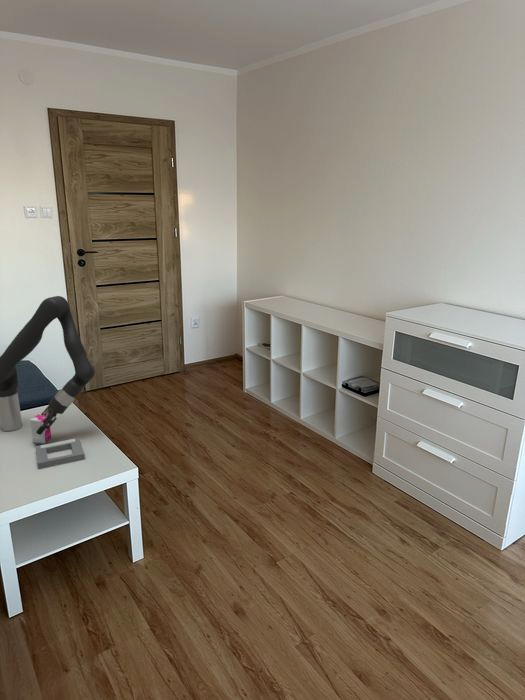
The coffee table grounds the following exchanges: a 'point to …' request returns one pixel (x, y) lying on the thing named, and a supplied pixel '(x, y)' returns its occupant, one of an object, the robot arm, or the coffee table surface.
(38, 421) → the supplement box
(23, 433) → the coffee table surface
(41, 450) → the divided tray
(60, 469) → the coffee table surface
